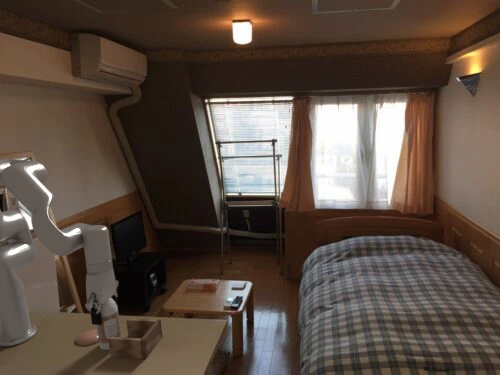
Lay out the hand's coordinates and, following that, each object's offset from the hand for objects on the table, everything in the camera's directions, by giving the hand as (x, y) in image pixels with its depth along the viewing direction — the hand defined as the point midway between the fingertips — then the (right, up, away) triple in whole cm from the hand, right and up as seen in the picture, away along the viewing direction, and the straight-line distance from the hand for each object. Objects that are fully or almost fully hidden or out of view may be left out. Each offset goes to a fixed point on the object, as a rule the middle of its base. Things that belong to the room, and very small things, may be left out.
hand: (105, 316), depth 132 cm
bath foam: (+1, -10, +2) cm, 10 cm away
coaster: (-7, -9, +6) cm, 13 cm away
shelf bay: (+10, -9, 0) cm, 14 cm away
